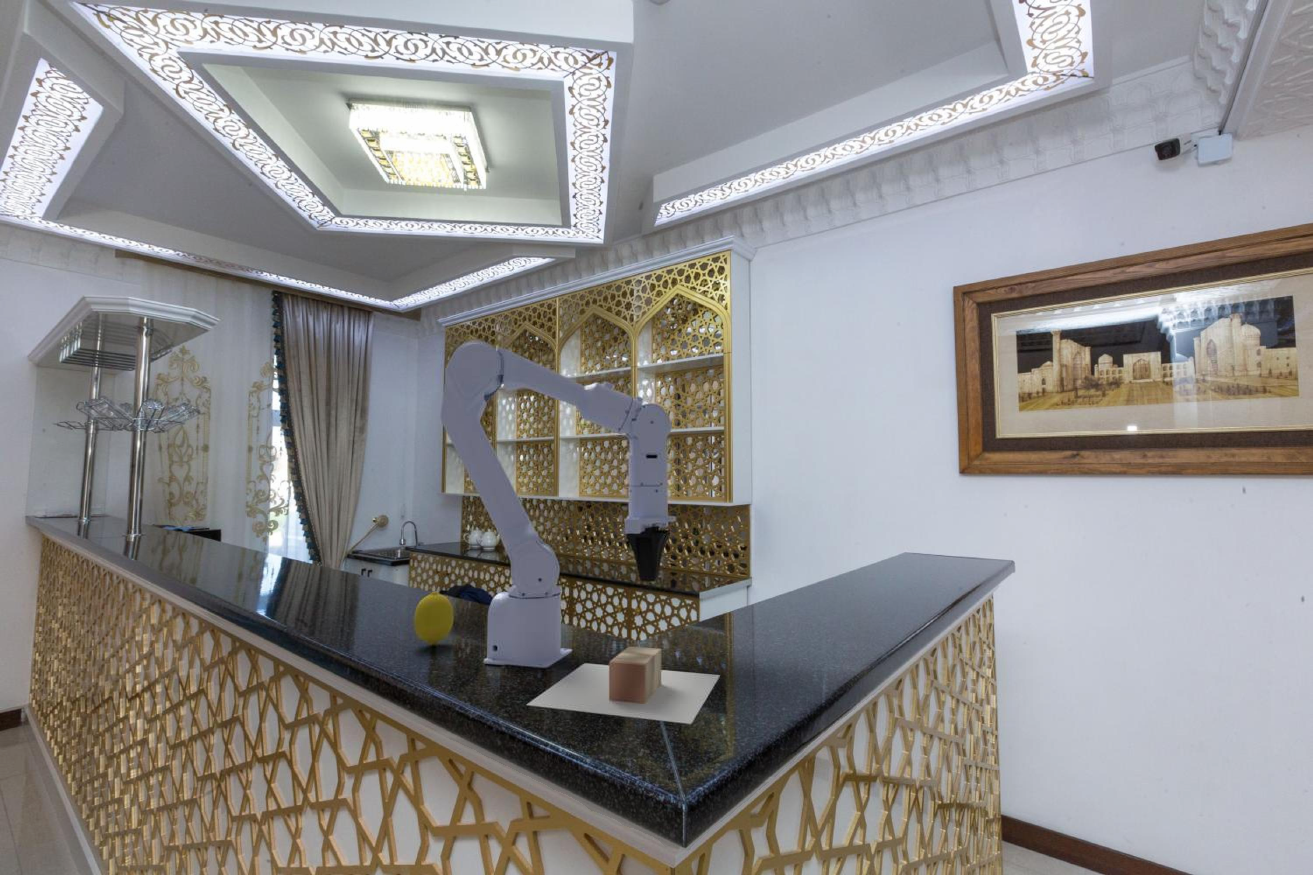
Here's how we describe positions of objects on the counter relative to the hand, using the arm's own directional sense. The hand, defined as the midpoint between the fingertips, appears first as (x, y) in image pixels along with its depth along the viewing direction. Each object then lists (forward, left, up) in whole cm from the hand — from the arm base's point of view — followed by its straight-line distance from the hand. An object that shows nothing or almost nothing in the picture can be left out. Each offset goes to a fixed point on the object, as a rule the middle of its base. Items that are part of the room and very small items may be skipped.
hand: (648, 580), depth 83 cm
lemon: (-32, -6, -10) cm, 34 cm away
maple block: (+4, -14, -8) cm, 16 cm away
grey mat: (+3, -16, -10) cm, 19 cm away
